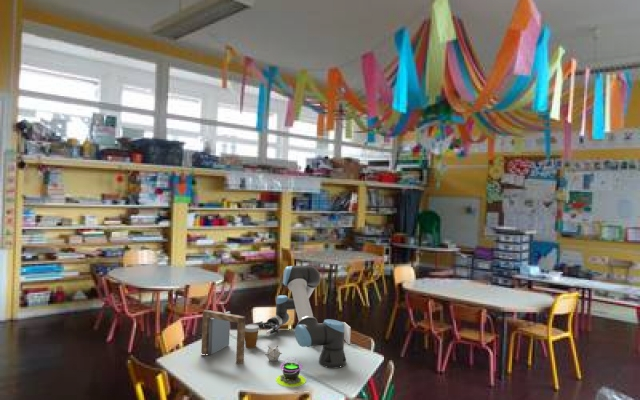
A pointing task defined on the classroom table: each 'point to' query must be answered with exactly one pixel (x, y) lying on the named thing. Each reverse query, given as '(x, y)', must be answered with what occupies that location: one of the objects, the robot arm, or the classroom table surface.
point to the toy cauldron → (291, 375)
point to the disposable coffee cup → (251, 335)
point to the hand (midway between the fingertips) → (257, 331)
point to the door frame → (227, 317)
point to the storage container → (347, 332)
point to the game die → (273, 354)
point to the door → (218, 334)
